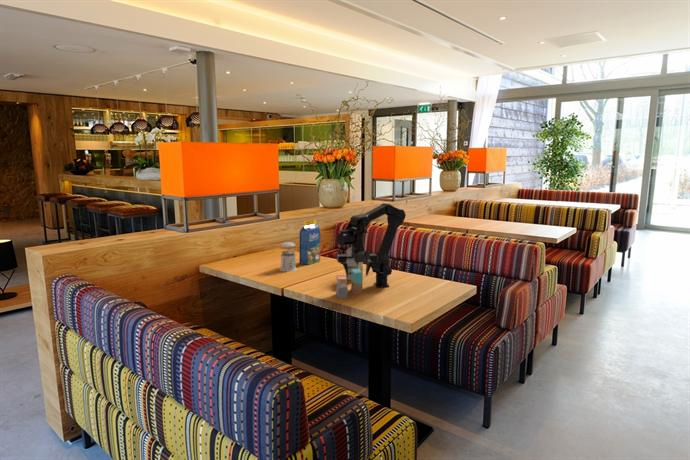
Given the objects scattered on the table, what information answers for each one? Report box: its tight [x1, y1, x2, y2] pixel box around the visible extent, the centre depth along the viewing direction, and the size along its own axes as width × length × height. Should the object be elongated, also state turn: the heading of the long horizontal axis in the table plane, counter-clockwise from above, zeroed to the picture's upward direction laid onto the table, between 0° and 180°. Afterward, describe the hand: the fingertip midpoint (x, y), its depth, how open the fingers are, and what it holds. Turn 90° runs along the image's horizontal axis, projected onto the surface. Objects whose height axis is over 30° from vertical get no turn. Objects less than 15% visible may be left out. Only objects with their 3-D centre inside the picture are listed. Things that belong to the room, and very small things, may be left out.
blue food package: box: [299, 219, 321, 266], centre depth 264 cm, size 6×12×25 cm, turn 146°
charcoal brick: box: [335, 283, 349, 300], centre depth 205 cm, size 7×4×5 cm, turn 9°
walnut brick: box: [350, 280, 363, 295], centre depth 212 cm, size 7×4×5 cm, turn 9°
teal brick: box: [350, 269, 364, 284], centre depth 211 cm, size 7×4×5 cm, turn 9°
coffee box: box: [345, 246, 364, 281], centre depth 233 cm, size 9×6×16 cm
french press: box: [279, 224, 298, 272], centre depth 248 cm, size 10×12×25 cm
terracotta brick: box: [335, 274, 348, 287], centre depth 219 cm, size 7×4×5 cm, turn 9°
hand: (357, 275), depth 211 cm, fingers open, 9 cm apart
